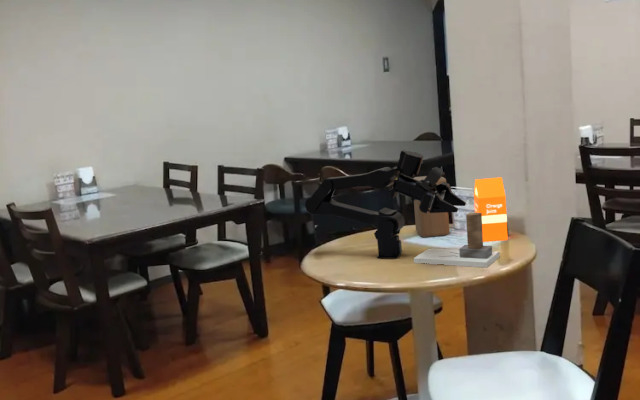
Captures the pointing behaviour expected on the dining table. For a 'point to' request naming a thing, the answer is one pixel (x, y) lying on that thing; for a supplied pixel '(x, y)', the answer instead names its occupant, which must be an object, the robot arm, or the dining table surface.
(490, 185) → the orange juice
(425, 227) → the wooden block
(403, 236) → the dining table surface
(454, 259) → the primed board
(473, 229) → the brown post on stand
